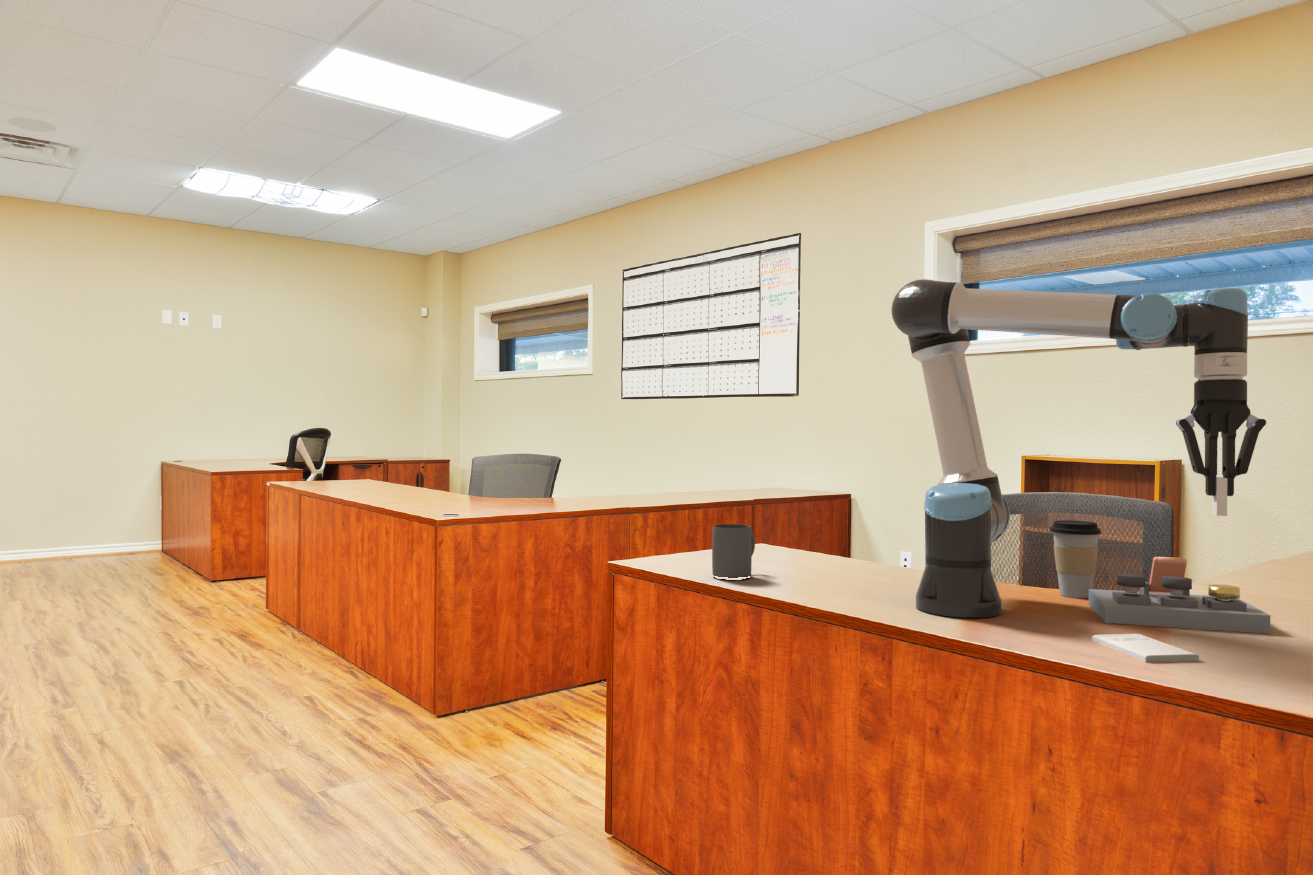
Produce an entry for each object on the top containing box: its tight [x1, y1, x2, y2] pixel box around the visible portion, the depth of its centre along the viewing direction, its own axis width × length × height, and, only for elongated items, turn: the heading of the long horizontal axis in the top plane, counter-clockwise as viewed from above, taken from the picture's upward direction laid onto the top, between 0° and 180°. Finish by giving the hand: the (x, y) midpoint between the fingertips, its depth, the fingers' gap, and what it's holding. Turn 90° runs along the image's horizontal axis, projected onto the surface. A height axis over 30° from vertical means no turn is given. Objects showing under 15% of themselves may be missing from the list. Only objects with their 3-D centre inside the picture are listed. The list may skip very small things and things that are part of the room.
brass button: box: [1207, 584, 1241, 602], centre depth 136 cm, size 4×4×3 cm
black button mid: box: [1162, 576, 1193, 596], centre depth 138 cm, size 4×4×3 cm
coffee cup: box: [1049, 519, 1102, 599], centre depth 162 cm, size 9×9×15 cm
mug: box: [711, 523, 756, 578], centre depth 185 cm, size 14×9×12 cm
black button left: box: [1116, 573, 1147, 593], centre depth 141 cm, size 4×4×3 cm
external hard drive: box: [1091, 633, 1200, 663], centre depth 120 cm, size 2×8×12 cm
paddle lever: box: [1148, 556, 1187, 593], centre depth 144 cm, size 5×1×8 cm, turn 70°
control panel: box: [1088, 581, 1271, 635], centre depth 141 cm, size 24×16×5 cm, turn 70°
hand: (1219, 514), depth 137 cm, fingers closed
